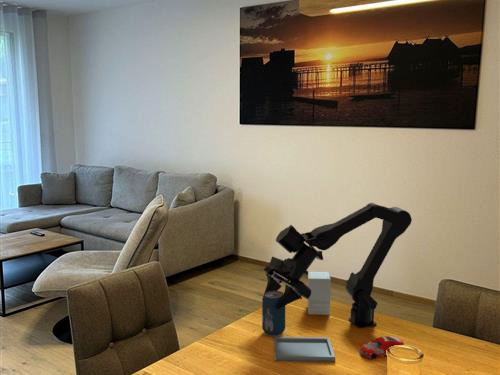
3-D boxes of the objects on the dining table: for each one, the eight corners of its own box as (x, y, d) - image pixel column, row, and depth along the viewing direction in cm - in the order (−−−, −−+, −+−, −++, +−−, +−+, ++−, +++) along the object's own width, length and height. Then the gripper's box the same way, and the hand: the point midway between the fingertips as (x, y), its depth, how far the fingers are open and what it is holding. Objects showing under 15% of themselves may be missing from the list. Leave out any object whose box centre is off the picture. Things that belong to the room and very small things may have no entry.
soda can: (283, 326, 142) (284, 289, 140) (286, 337, 135) (286, 298, 134) (261, 326, 142) (261, 289, 140) (263, 337, 135) (263, 298, 133)
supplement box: (328, 306, 159) (329, 271, 157) (330, 315, 152) (331, 278, 150) (306, 305, 160) (307, 270, 158) (307, 314, 153) (308, 278, 151)
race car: (366, 362, 124) (367, 348, 123) (355, 352, 129) (356, 338, 128) (407, 354, 128) (408, 340, 127) (395, 344, 133) (396, 331, 132)
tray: (328, 342, 134) (328, 337, 133) (335, 362, 123) (335, 356, 123) (273, 341, 134) (273, 336, 134) (275, 361, 123) (275, 356, 123)
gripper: (268, 239, 145) (238, 279, 141) (303, 255, 129) (270, 300, 125) (289, 260, 150) (260, 299, 146) (325, 277, 134) (293, 321, 130)
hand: (269, 304), depth 137 cm, fingers closed on soda can, 7 cm apart
